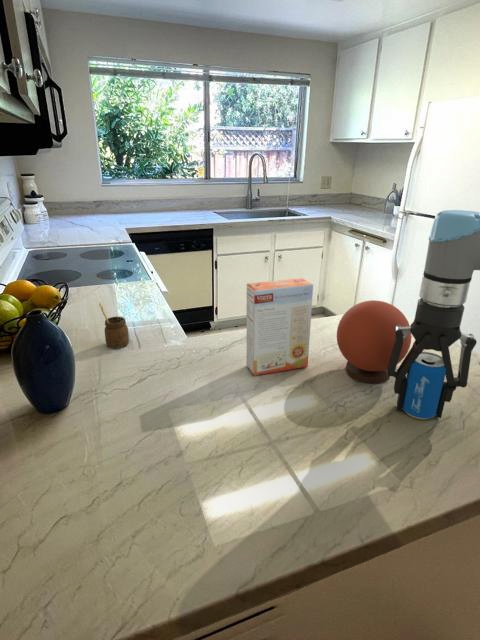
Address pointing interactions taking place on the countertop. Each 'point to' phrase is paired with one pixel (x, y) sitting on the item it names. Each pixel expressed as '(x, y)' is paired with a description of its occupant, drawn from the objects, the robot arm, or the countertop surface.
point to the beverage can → (424, 386)
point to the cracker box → (278, 325)
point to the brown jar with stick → (116, 331)
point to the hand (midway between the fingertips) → (418, 409)
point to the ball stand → (370, 339)
